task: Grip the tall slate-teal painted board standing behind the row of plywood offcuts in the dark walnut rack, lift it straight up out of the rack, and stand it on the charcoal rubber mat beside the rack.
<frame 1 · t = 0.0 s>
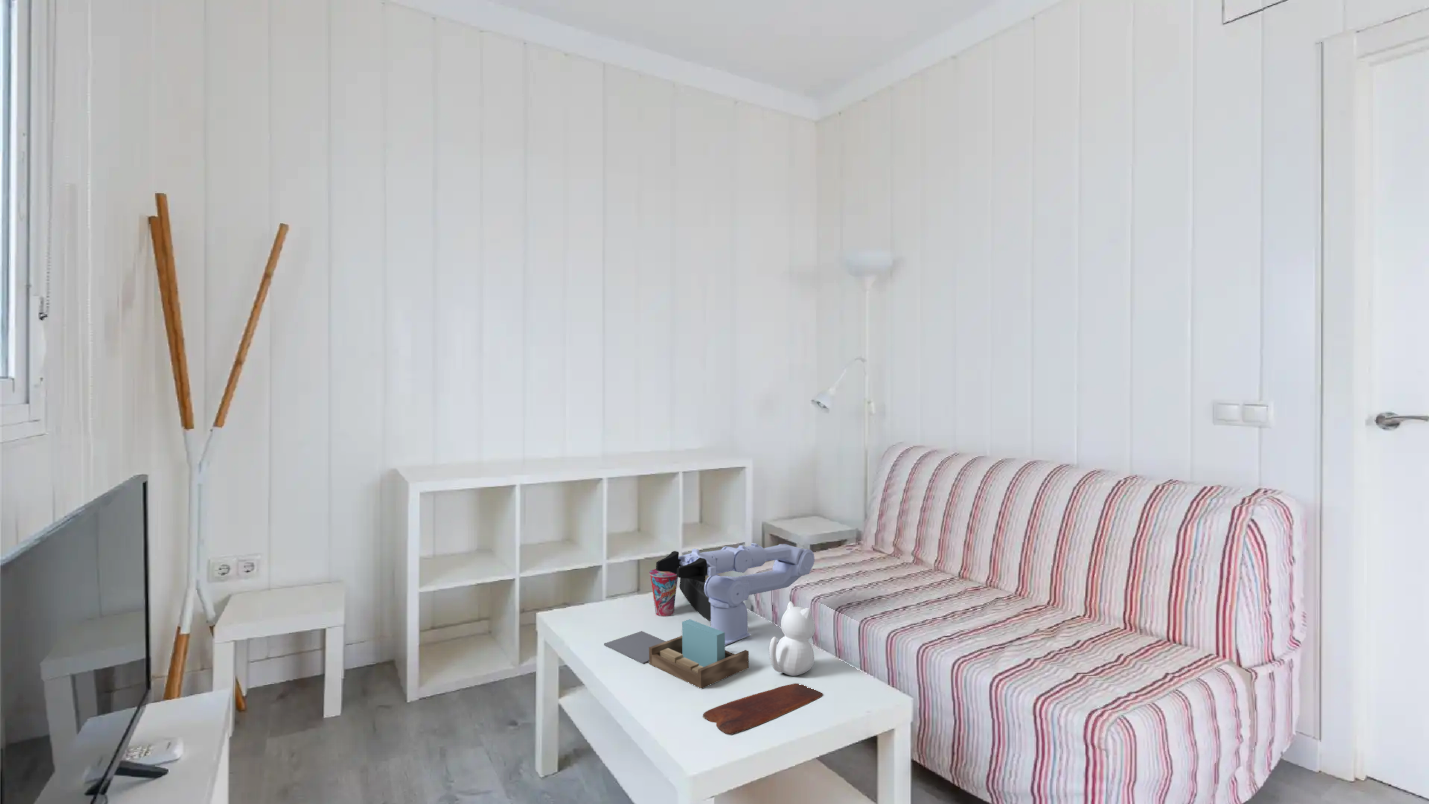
hand: (667, 569, 167), 22 cm above the table, tool horizontal, fingers open, 7 cm apart
cat figurine: (792, 671, 161), on the table
rack: (698, 666, 164), on the table
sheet: (703, 664, 165), resting in rack
offcuts: (684, 671, 161), resting in rack
wooden tablet: (766, 710, 144), on the table
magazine: (701, 612, 201), on the table
cup: (665, 613, 199), on the table
mat: (642, 647, 175), on the table
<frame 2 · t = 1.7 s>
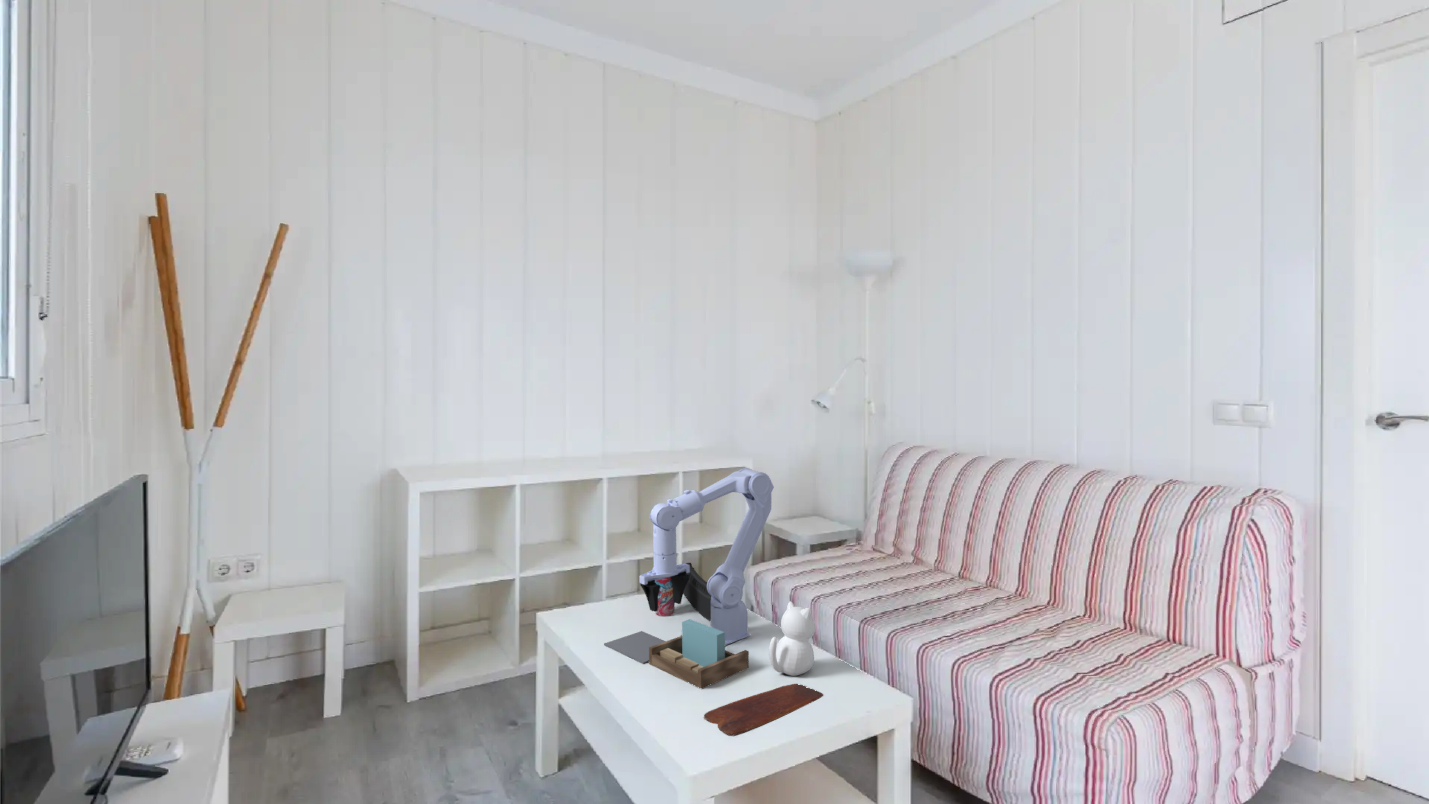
hand: (665, 606, 174), 10 cm above the table, tool pointing down, fingers open, 7 cm apart
nothing on the table moved.
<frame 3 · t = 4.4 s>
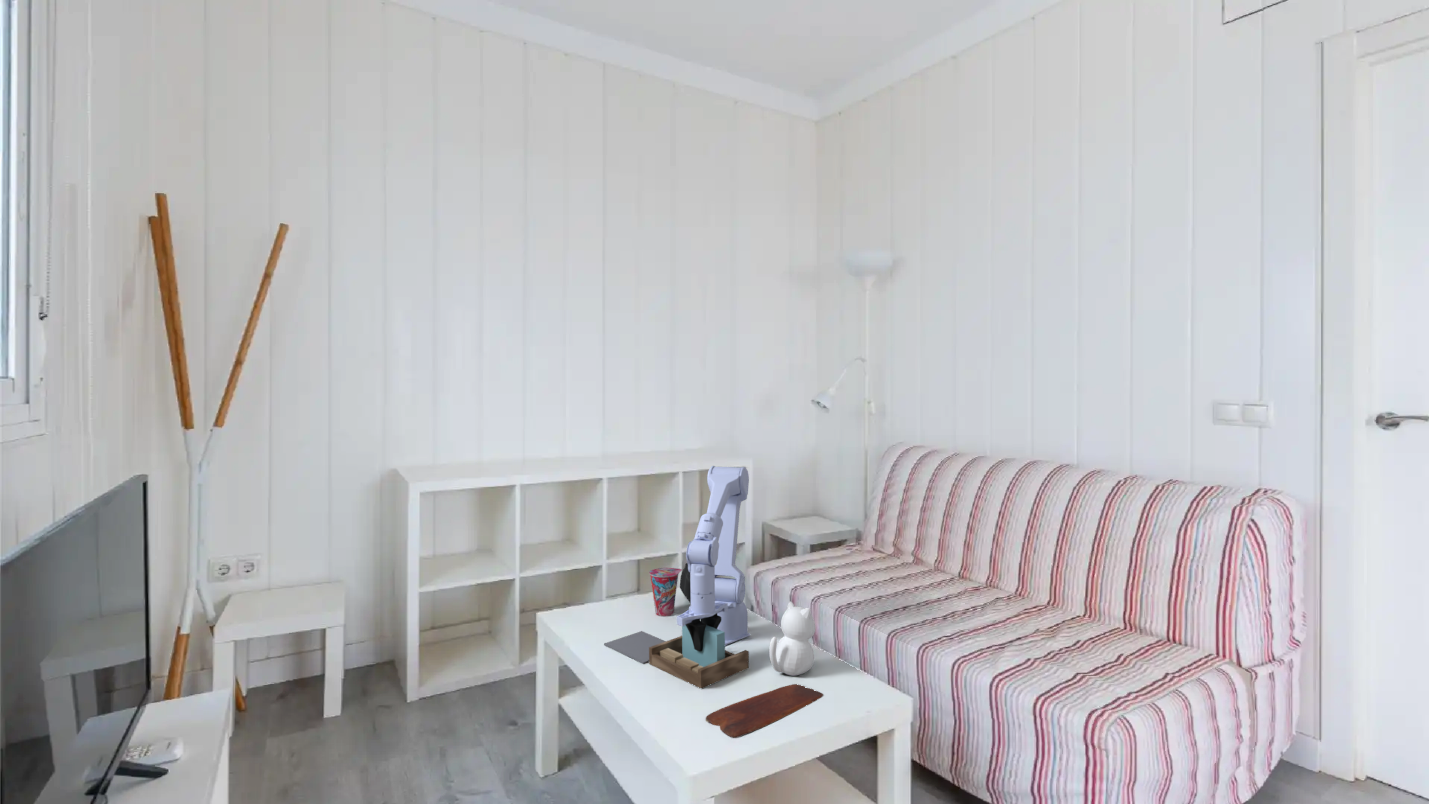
hand: (703, 648, 164), 4 cm above the table, tool pointing down, fingers closed on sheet, 2 cm apart
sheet: (703, 664, 165), resting in rack, touching gripper
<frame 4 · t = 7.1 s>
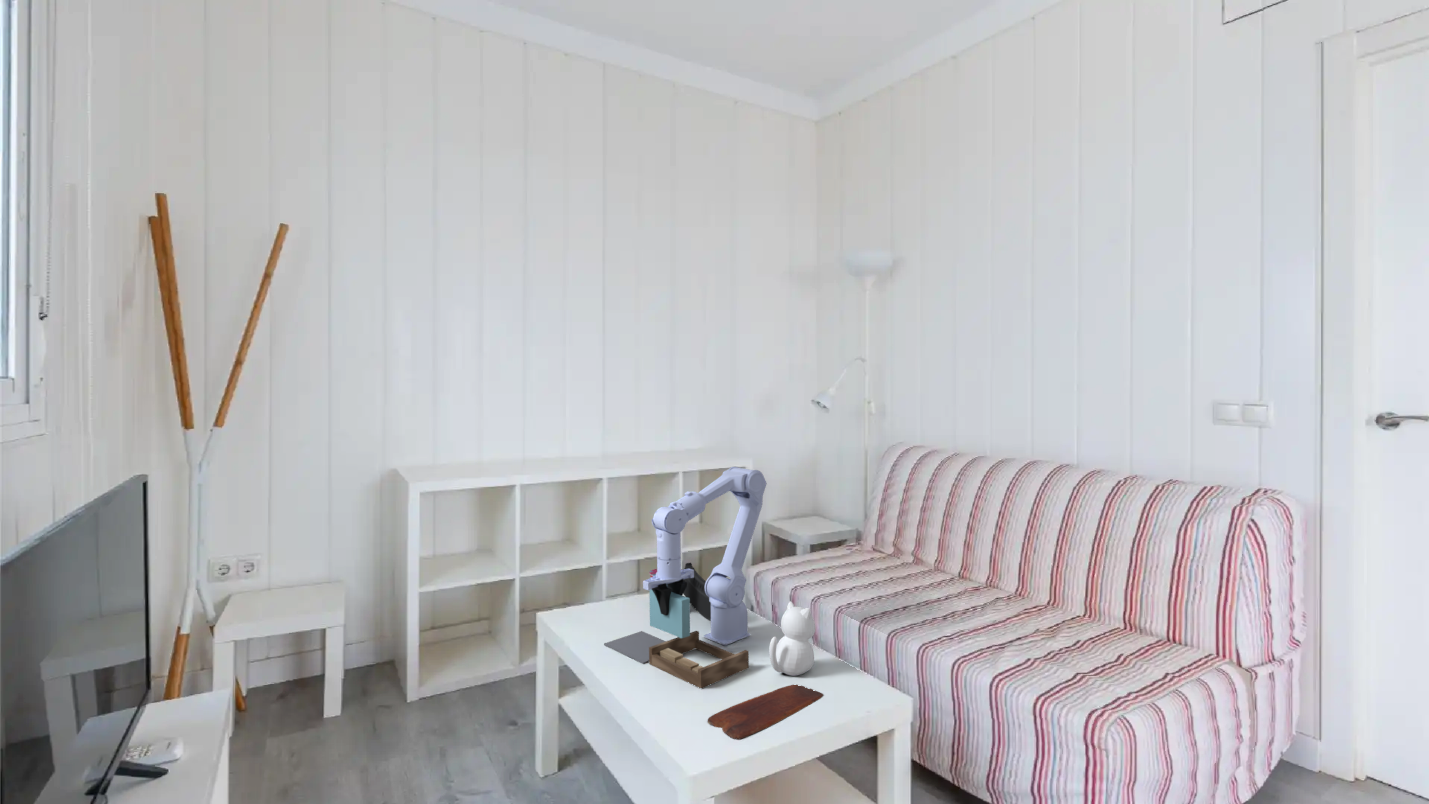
hand: (669, 612, 170), 10 cm above the table, tool pointing down, fingers closed on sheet, 2 cm apart
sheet: (669, 630, 170), point 6 cm above the table, touching gripper
when the fingers open (5 cm above the table, at t = 9.7 s): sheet stays where it is, resting on mat.
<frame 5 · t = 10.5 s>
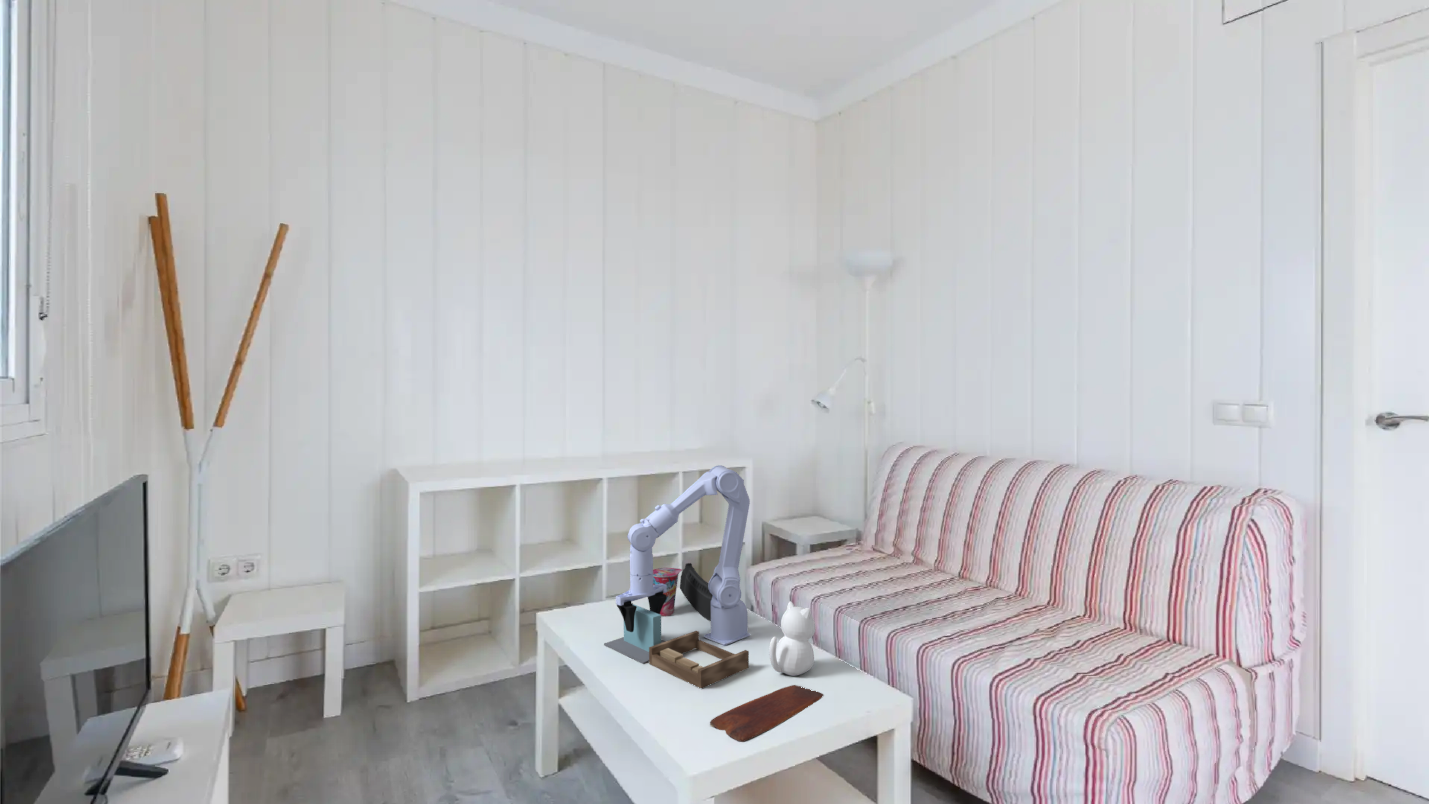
hand: (642, 626, 175), 5 cm above the table, tool pointing down, fingers open, 7 cm apart
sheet: (642, 645, 175), resting on mat
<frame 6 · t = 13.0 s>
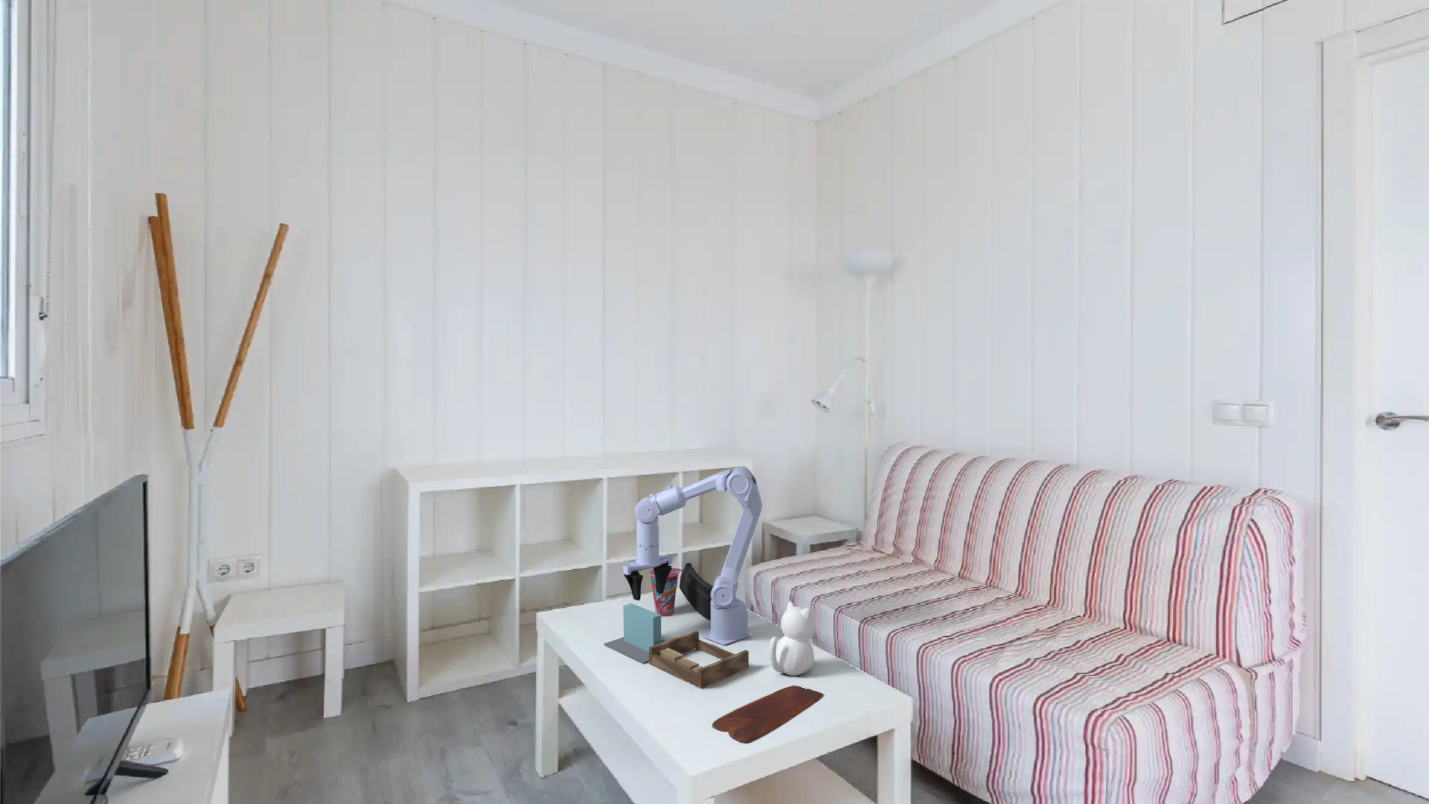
hand: (648, 596, 182), 10 cm above the table, tool pointing down, fingers open, 7 cm apart
at the end: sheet inside the target area (0.1 cm from its centre), resting on mat; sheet moved 18.5 cm from its start; the gripper is holding nothing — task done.
